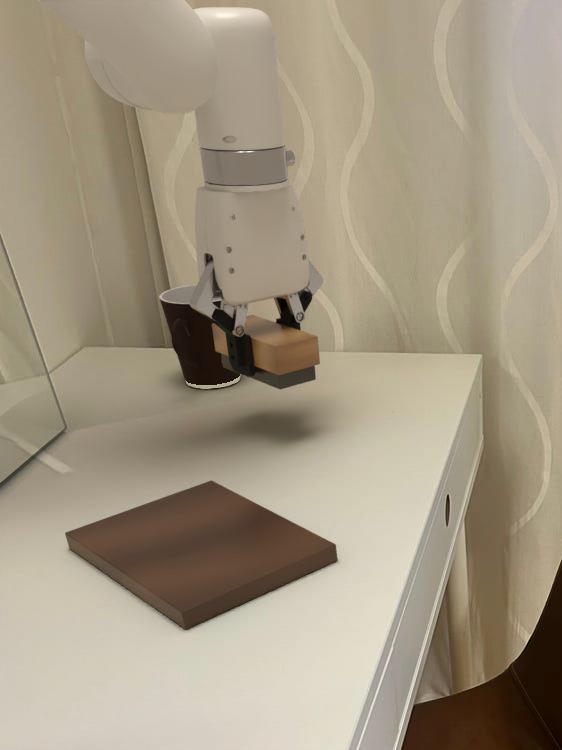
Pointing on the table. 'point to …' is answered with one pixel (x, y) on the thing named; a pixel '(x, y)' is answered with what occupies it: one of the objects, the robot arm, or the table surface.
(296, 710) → the table surface
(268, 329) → the brush
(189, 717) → the table surface
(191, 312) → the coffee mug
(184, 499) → the board
